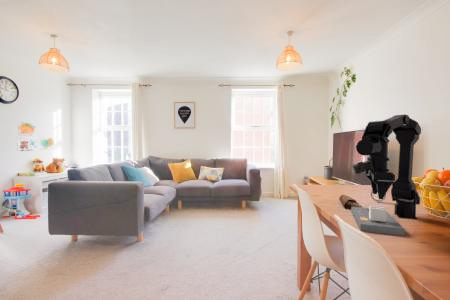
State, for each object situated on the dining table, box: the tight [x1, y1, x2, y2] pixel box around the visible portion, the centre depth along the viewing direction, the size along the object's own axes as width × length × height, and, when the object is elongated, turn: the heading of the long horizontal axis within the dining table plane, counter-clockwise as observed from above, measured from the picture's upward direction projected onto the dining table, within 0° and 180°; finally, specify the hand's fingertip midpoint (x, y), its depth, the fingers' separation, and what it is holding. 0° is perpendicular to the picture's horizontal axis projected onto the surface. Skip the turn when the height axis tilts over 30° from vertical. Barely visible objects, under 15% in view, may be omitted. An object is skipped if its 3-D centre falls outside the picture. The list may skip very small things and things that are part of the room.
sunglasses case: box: [338, 194, 361, 210], centre depth 121 cm, size 18×7×7 cm
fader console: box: [350, 206, 405, 237], centre depth 95 cm, size 13×25×3 cm, turn 159°
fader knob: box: [368, 205, 388, 222], centre depth 89 cm, size 5×3×5 cm, turn 69°
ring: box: [370, 190, 387, 203], centre depth 127 cm, size 7×3×8 cm, turn 59°
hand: (377, 196), depth 88 cm, fingers open, 9 cm apart
